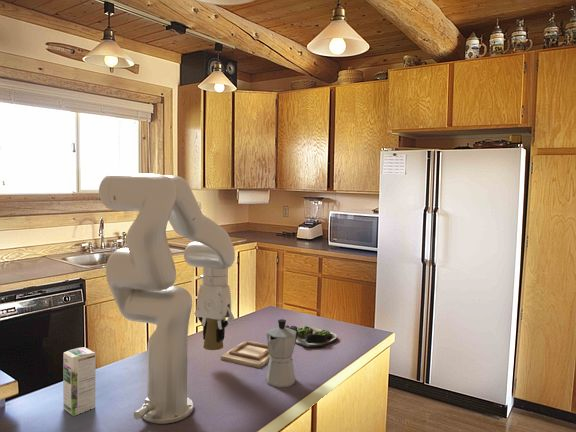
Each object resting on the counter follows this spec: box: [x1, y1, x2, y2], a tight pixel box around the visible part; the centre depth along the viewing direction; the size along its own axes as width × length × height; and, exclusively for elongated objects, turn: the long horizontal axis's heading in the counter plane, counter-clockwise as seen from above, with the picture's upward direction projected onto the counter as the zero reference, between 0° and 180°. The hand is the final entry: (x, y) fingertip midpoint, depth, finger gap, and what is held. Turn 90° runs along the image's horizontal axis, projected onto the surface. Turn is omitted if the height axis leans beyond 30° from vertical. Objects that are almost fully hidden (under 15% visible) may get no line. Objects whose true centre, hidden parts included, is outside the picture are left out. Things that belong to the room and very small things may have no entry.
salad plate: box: [295, 325, 338, 349], centre depth 166 cm, size 19×18×5 cm
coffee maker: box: [265, 319, 298, 389], centre depth 131 cm, size 15×9×18 cm, turn 149°
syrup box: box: [62, 347, 97, 417], centre depth 112 cm, size 6×6×14 cm
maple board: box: [220, 339, 271, 369], centre depth 149 cm, size 16×14×2 cm
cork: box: [202, 318, 224, 351], centre depth 138 cm, size 6×6×11 cm
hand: (213, 339), depth 138 cm, fingers closed on cork, 4 cm apart
